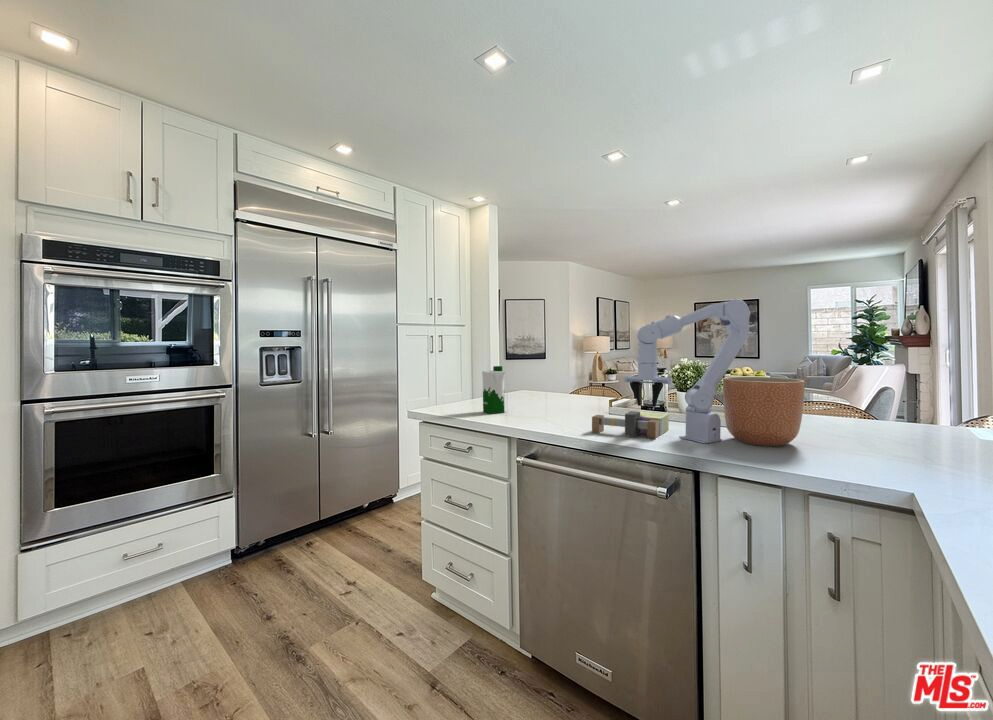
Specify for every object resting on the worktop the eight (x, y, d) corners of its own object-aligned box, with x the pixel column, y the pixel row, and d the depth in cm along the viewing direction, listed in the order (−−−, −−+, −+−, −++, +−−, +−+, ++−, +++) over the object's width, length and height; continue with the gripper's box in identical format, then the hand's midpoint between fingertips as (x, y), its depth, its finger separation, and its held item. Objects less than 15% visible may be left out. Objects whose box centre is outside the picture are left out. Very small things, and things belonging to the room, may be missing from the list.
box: (638, 427, 155) (628, 432, 146) (638, 411, 155) (628, 415, 145) (668, 430, 149) (660, 436, 140) (669, 413, 149) (660, 418, 140)
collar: (640, 433, 143) (640, 411, 143) (634, 436, 137) (634, 414, 137) (630, 432, 145) (630, 411, 144) (624, 435, 139) (625, 414, 139)
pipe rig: (658, 436, 139) (658, 420, 139) (655, 439, 135) (655, 422, 135) (596, 430, 150) (597, 414, 150) (591, 432, 146) (592, 416, 145)
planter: (706, 437, 137) (707, 377, 136) (754, 432, 144) (755, 375, 143) (768, 453, 117) (770, 383, 117) (820, 446, 125) (822, 380, 124)
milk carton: (507, 413, 187) (507, 366, 187) (488, 414, 184) (487, 367, 183) (498, 410, 195) (498, 365, 195) (480, 411, 192) (479, 366, 191)
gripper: (674, 363, 137) (673, 406, 138) (627, 362, 145) (627, 402, 145) (669, 364, 131) (669, 408, 132) (621, 363, 139) (621, 405, 139)
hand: (647, 405), depth 138 cm, fingers open, 4 cm apart
